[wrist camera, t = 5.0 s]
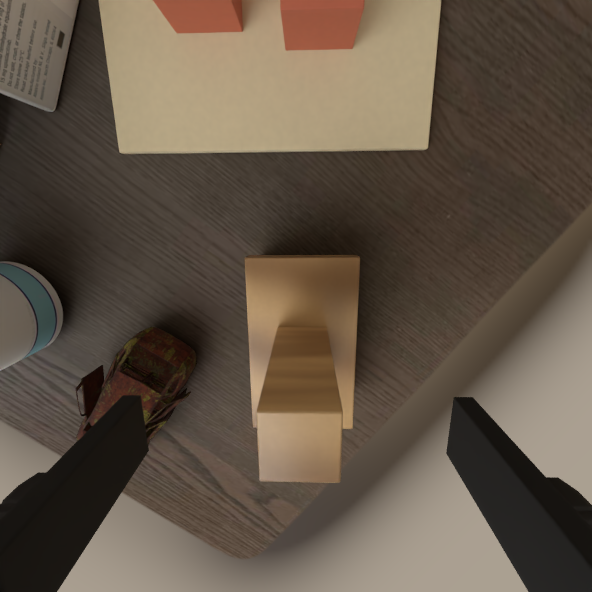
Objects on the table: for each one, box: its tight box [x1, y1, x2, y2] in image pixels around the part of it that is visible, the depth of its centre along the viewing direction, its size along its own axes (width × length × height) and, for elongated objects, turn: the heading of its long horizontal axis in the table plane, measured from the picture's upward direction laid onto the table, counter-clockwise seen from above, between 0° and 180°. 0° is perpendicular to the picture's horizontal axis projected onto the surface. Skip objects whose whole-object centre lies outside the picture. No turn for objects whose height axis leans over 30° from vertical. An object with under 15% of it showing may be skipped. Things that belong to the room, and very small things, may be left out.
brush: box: [245, 255, 360, 483], centre depth 18 cm, size 12×7×13 cm, turn 0°
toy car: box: [76, 327, 197, 444], centre depth 24 cm, size 12×7×5 cm, turn 147°
